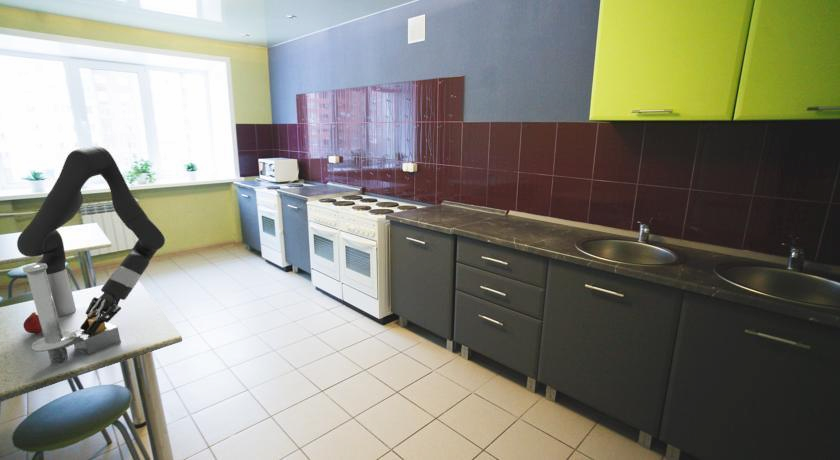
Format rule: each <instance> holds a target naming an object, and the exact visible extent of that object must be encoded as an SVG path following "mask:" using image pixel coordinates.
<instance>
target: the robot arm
mask: <svg viewBox="0 0 840 460" xmlns="http://www.w3.org/2000/svg"><path fill="white" fill-rule="evenodd" d="M61 168H62V169H61V172H60V174H59V175H58V178H57V180H56V181H55V183H54V185H53V187H52V188H51V190H50V191H49V193H48V195H47V196H46V197H45V199H44V201H43V202H42V204H41V206H40V208H39V210H38V211H37V212H36V214H35V216H34V217H33V219H32V220H31V221H30V223H29V224H28V225H27V226H26V227H25V228H24V229H23V230H22V232H20V235H19V236H18V238H17V242H16V244H17V250H18V251H19V253H21V254H22V255H23V256H25V257H29V258H31V257H32V258H34V257H39V256H42V257H41V258H40V259H39V260H38V261H37V262H36V263H35V264H40V263H45V264H47V269H46V273H47V277H48V281H49V285H50V289H51V292H52V296H53V300H54V304H55V308H56V312H57V316H58V318H62V317H65V316H68V315H70V314H72V313H74V312H75V311H76V310H77V309H76V305H75V300H74V295H73V291H72V288H71V283H70V280H69V276H68V272H67V267H66V263H67V259H66V258H67V257H66V253H65V248H64V241H63V238H62V235H61V234H60V232H59V231H58V229H59V228H61V227H63V226H64V225H65V224H67V223H68V222H70V221H71V220H72V219H73V218H74V217H75V216H76V215H77V214H78V212H79V210H80V209H81V207H82V206H83V203H84V197H83V194H82V188H83V187H84V185H85V183H86V182H88V180H89V179H90V178H92V177H95V176H96V177H97V176H101V177H102V178H103V179H104V181H106V183H107V185H108V187H109V190H110V194H111V201H112V207H113V210H114V211H115V213H116V215H117V216H118V218H120V221H122V223H123V224H124V225H125V226H126V228H127V229H129V230H130V231H132V232H133V234H134V235H135V236H136V237H137V239H138V240H137V241H136V242H135V244H134V246H133V247H132V249H131V250H130V252H129V253H128V255H127V256H126V257H125V258H124V259H123V261H122V262H121V263H120V264H119V266H118V267H117V268H116V269H115V270H114V272H113V273H112V274H110V276H109V278H108V280H107V281H106V282H105V283H104V285H102V287H101V289H100V291H101V292H102V293H103V294H102V295H100V296H99V297H96V296H95V297H93V298H92V299H91V301H90V303H89V306H88V307H87V309H86V312H85V315H86V319H85V320H84V322H83V323H82V324H81V325H80V328H79V330H80V329H82V330H85V331H87V332H89V333H92V334H93V333H95V332H96V330H97V329H98V328H99V326H100V325H101V323H104V322H106V323H109V322H110V321H111V320H112V319H113V318H114V317H115V316H116V315H117V314H118V313H119V311H121V309H122V307H121V306H118V305H119V303H120V300H122V301H123V300H124V301H125V300H126V299H127V298H128V296H129V295H130V294H131V292H132V291H133V289H134V288H135V286H136V285H137V283H139V281H140V278H141V276H142V275H143V274H144V273H145V270H146V269H147V268H148V267H149V264H150V261H151V260H152V258H153V257H154V256H155V254H156V253H157V252H158V250H160V249H162V248H163V247H164V246H165V242H166V241H165V240H166V239H165V236H164V234H163V233H162V231H161V230H160V228H158V227H157V225H155V224H154V223H153V221H151V219H150V218H149V217H148V216H147V214H146V212H145V211H144V209H143V208H142V207H141V206H140V204H139V203H138V202H137V200H136V198H135V197H134V196H133V194H132V192H131V189H130V188H129V186H128V184H127V183H126V180H125V179H124V176H123V174H122V173H121V170H120V169H119V166H118V165H117V163H116V160H115V159H114V157H113V156H112V154H111V153H110V152H109V151H108V150H107V148H104V147H103V146H96V145H95V146H89V147H82V148H78V149H74V150H72V151H71V152H70V153H69V154H68V155H67V157H66V158H65V161H64V163H63V166H62V167H61ZM94 317H96V318H95V321H93V322H92V324H91V325H90V326H89V322H88V319H91V318H94Z"/></svg>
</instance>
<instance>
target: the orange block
mask: <svg viewBox="0 0 840 460" xmlns="http://www.w3.org/2000/svg"><path fill="white" fill-rule="evenodd" d="M95 318H96V317H94V318H91V319H88V322H89V326H90V325H91V324H92V322H93V321H95ZM104 329H106V327H105V322H104V323H101V325H100V326H99V328H98V329H97V330H96V332H99V331H101V330H104ZM96 332H95V333H96ZM91 334H92V333H91Z"/></svg>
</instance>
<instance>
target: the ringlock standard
mask: <svg viewBox="0 0 840 460" xmlns="http://www.w3.org/2000/svg"><path fill="white" fill-rule="evenodd" d="M46 269H47V264H45V263H40V264H36V263H34V264H33V263H32V264H30V265H26V266H24V267H22V271H23V273H26V277H27V280H28V284H29V287H30V292H31V295H32V299H33V303H34V305H35V309H36V314H37V315H38V317H39V321H40V324H41V328H42V332H41V333H42V334H43V337H41V338H39V339H37V340H36V341H34V342H33V343H32V344H31V349H32V351H33V352H36V353H44V352H47V353H48V357H49V361H50V364H51V365H57V364H58V365H59V364H62V363H64V362H66V361H68V360H69V355H68V350H67V348H68V347H70V346H73V347H74V349H76V350H78V351H80V352H81V353H84V354H85V355H87V356H91V355H93V354H95V353H98V352H99V351H102V350H105V349H107V348H109V347H112V346H114V345H117V344H119V343H121V337H120V331H119V328H118V326H116V325H114V324H112V323H109V322H107V323H106V322H105V327H106V329H104V330H101V331H99V332H96V333H93V334H91V333H89V332H87V331H85V330H82V329H80V328H79V329H77V330H74V331H62V327H61V324H60V321H59V317H58V316H57V312H56V308H55V304H54V300H53V296H52V292H51V289H50V285H49V281H48V277H47V273H46Z"/></svg>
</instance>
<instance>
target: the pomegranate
mask: <svg viewBox="0 0 840 460" xmlns="http://www.w3.org/2000/svg"><path fill="white" fill-rule="evenodd" d="M23 328H24V331H26V333H29V334H33V335H40V334H42V333H43V332H42V328H41V324H40V321H39V317H38V314H37V312H35V311H33V312H31V314H30V315H29V316H28V317H27V318H26V319H25V320H24V322H23Z"/></svg>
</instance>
